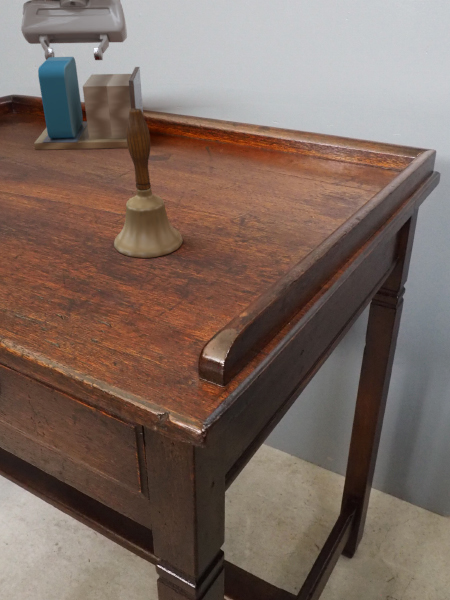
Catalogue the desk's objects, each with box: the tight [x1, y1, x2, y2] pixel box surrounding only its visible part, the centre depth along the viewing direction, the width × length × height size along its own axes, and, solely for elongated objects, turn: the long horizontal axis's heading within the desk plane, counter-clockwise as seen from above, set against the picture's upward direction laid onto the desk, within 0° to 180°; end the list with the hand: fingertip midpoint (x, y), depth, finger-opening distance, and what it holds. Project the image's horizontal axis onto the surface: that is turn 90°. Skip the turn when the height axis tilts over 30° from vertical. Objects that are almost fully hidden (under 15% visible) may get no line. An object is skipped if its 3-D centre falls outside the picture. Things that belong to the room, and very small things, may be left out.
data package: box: [37, 56, 84, 139], centre depth 109 cm, size 12×4×12 cm, turn 4°
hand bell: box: [113, 108, 184, 259], centre depth 71 cm, size 8×8×16 cm
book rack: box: [33, 66, 144, 151], centre depth 110 cm, size 18×13×11 cm
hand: (73, 58), depth 120 cm, fingers open, 8 cm apart
